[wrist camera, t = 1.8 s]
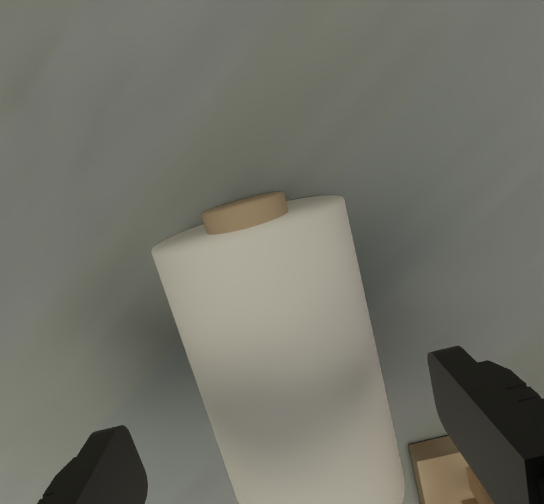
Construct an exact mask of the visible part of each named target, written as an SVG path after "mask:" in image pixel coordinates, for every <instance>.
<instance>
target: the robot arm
mask: <svg viewBox="0 0 544 504" xmlns="http://www.w3.org/2000/svg"><path fill="white" fill-rule="evenodd" d="M428 365H429V371H430V376H431V382H432V388H433V394H434V399H435V405H436V409H437V412H438V415H439V418H440V420H441V423H442V425H443V427H444V429H445V430H446V432H447V434H448V435H449V437H450V438H451V440H452V441H453V443H454V444H455V446H456V447H457V449H458V450H459V452H460V453H461V455H462V456H463V458H464V459H465V461H466V462H467V464H468V465H469V467H470V468H471V470H472V471H473V472H474V474H475V475H476V477H477V478H478V480H479V481H480V483H481V484H482V486H483V487H484V489H485V490H486V492H487V493H488V495H489V496H490V498H491V499H492V501H493V502H494V504H544V399H541V397H540V395H539V394H538V393H536V392H535V391H534V390H533V389H532V388H531V387H527V385H526V383H525V382H524V381H522V380H521V379H520V378H519V377H518V376H517V375H515V374H514V373H513V372H512V371H511V370H509V369H507V368H504V367H502V366H500V365H498V364H495V363H493V362H491V361H488V360H487V361H483V362H479V363H477V362H476V361H475V360H474V359H473V358H472V357H471V356H470V355H469V354H468V353H467V352H466V351H465V350H464V349H463V348H461V347H460V346H454V347H450V348H446V349H442V350H437V351H433V352H429V353H428ZM147 489H148V483H147V476H146V472H145V469H144V467H143V464H142V462H141V459H140V457H139V454H138V452H137V449H136V447H135V444H134V442H133V440H132V437H131V435H130V432H129V430H128V429H127V428H126V427H125V426H123V425H121V426H117V427H112V428H108V429H104V430H100V431H96V432H93V433H92V434H91V435H90V436H89V438H88V440H87V441H86V443H85V444H84V446H83V448H82V449H81V451H80V452H79V454H78V455H77V457H74V458H73V459H72V460H71V461H70V462H69V463H68V464H67V465H66V466H65V467H64V468H63V469H62V470H61V471H60V472H59V473H58V474H57V475H56V476H55V477H54V479H53V480H52V482H51V484H50V485H49V487H48V488H47V490H46V491H45V493H44V494H43V499H40V500H39V502H38V503H37V504H145V501H146V497H147Z"/></svg>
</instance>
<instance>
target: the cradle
mask: <svg viewBox="0 0 544 504" xmlns="http://www.w3.org/2000/svg"><path fill="white" fill-rule="evenodd" d="M409 450H410V455H411V460H412V464H413V469H414V474H415V479H416V484H417V489H418V493H419V498H420V503H421V504H494V502H493V501H492V499H491V498H490V496H489V495H488V493H487V492H486V490H485V489H484V487H483V486H482V484H481V483H480V481H479V480H478V478H477V477H476V475H475V474H474V472H473V471H472V470H471V468H470V467H469V465H468V464H467V462H466V461H465V459H464V458H463V456H462V455H461V453H460V452H459V450H458V449H457V447H456V446H455V444H454V443H453V441H452V440H451V438H450V437H449V436H445V437H441V438H436V439H432V440H427V441H423V442H419V443H414V444H410V445H409Z"/></svg>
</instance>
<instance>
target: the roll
mask: <svg viewBox="0 0 544 504" xmlns="http://www.w3.org/2000/svg"><path fill="white" fill-rule="evenodd" d="M201 216H202V219H203V222H204V224H202V225H199V226H196V227H193V228H191V229H188V230H186V231H183V232H181V233H178V234H176V235H174V236H172V237H169V238H167V239H165V240H164V241H162V242H160V243H158V244H157V245H155V246H154V247H153V248H152V250H151V253H152V256H153V259H154V262H155V265H156V267H157V270H158V273H159V276H160V279H161V282H162V285H163V288H164V291H165V293H166V296H167V299H168V302H169V305H170V308H171V311H172V314H173V316H174V319H175V322H176V325H177V328H178V331H179V334H180V337H181V339H182V342H183V345H184V348H185V351H186V354H187V357H188V360H189V363H190V365H191V368H192V371H193V374H194V377H195V380H196V383H197V386H198V388H199V391H200V394H201V397H202V400H203V403H204V406H205V409H206V411H207V414H208V417H209V420H210V423H211V426H212V429H213V432H214V435H215V437H216V440H217V443H218V446H219V449H220V452H221V455H222V458H223V460H224V463H225V466H226V469H227V472H228V475H229V478H230V481H231V483H232V486H233V489H234V492H235V495H236V498H237V501H238V504H402V503H403V499H404V492H405V480H404V474H403V469H402V465H401V460H400V455H399V451H398V446H397V441H396V437H395V432H394V428H393V423H392V418H391V414H390V409H389V404H388V400H387V395H386V390H385V386H384V381H383V377H382V372H381V367H380V363H379V358H378V353H377V349H376V344H375V340H374V335H373V330H372V326H371V321H370V316H369V312H368V307H367V302H366V298H365V293H364V289H363V284H362V279H361V275H360V270H359V265H358V261H357V256H356V251H355V247H354V242H353V238H352V233H351V228H350V224H349V219H348V214H347V210H346V205H345V200H344V198H343V197H342V196H338V195H323V196H314V197H306V198H300V199H295V200H289V201H286V199H285V196H284V192H283V191H277V192H271V193H266V194H261V195H257V196H252V197H248V198H245V199H241V200H237V201H234V202H230V203H227V204H224V205H221V206H218V207H215V208H212V209H210V210H207V211H205V212H203V213H202V214H201Z"/></svg>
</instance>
